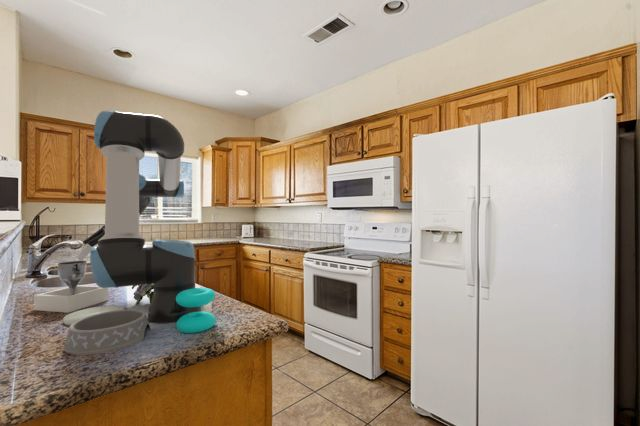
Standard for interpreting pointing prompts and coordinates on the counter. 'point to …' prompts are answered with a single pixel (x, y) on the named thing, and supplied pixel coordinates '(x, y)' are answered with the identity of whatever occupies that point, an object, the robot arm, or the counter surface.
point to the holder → (70, 299)
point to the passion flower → (143, 292)
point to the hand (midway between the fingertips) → (92, 259)
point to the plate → (88, 313)
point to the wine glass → (72, 273)
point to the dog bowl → (106, 332)
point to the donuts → (195, 319)
